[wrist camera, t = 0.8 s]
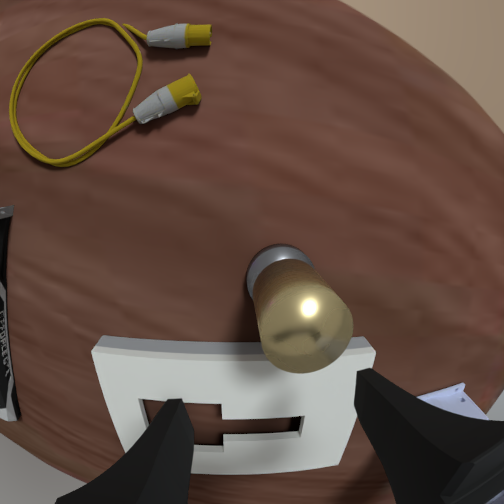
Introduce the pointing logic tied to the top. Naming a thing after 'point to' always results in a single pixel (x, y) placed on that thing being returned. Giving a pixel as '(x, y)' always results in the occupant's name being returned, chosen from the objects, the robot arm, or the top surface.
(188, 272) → the top surface
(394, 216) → the top surface
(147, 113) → the yellow coiled cable
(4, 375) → the graphics card
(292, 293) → the gold cylindrical piece
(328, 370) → the keyhole plate
